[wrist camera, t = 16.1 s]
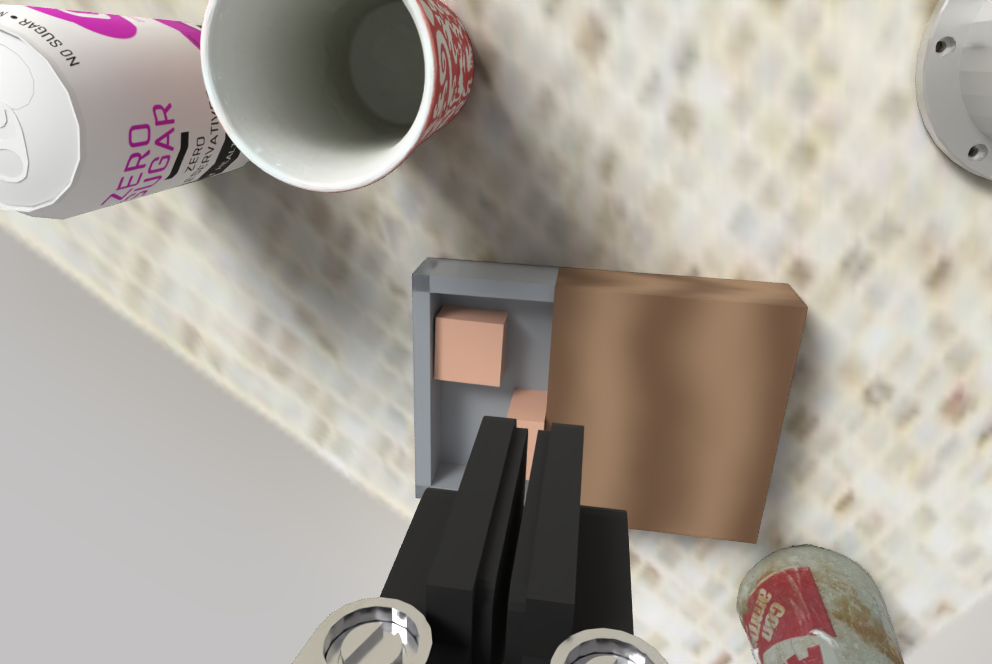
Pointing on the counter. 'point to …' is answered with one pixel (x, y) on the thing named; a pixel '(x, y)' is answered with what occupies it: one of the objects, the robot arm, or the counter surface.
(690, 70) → the counter surface
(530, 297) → the box
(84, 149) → the supplement can
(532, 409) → the tile
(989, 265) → the counter surface
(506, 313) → the tile
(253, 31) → the mug
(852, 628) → the bottle
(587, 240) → the counter surface
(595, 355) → the brown square platform
